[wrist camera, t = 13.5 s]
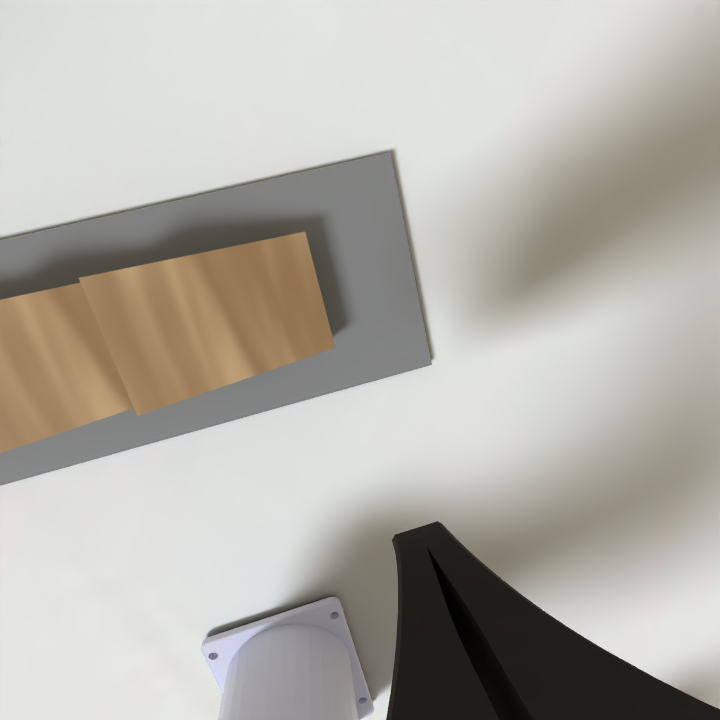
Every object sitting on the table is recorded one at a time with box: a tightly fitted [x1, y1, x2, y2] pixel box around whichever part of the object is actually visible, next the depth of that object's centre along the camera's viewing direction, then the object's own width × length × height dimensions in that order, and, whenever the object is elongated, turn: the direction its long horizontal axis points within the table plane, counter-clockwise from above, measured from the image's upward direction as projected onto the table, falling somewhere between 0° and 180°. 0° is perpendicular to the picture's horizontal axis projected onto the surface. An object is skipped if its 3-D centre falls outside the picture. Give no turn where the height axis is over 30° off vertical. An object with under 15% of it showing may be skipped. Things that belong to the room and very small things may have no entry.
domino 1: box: [0, 283, 134, 453], centre depth 15 cm, size 2×5×8 cm
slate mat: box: [0, 152, 432, 486], centre depth 17 cm, size 10×28×1 cm, turn 104°
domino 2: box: [79, 232, 335, 416], centre depth 15 cm, size 2×5×8 cm
